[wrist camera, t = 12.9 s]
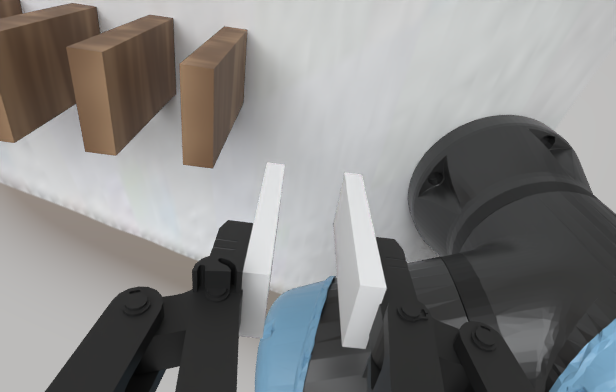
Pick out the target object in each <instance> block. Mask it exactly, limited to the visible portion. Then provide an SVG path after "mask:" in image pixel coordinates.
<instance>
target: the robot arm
mask: <svg viewBox="0 0 616 392" xmlns="http://www.w3.org/2000/svg"><path fill="white" fill-rule="evenodd" d="M284 169H285V164H277V163H270V162H267V165H266V169H265V174H264V178H263V183H262V187H261V192H260V196H259V201H258V205H257V210H256V214H255V219H254V223H247V222H239V221H230V220H228V221H227V222H226V223H225V224H223V225H222V226H221V227H220V228H219V231H218V234H217V237H216V240H215V243H214V245H213V248H212V251H211V254H210V256H208V257H205V258H203V259H201V260H200V261H199V262H197V263H196V264H195V266H194V268H193V270H192V281H193V289H192V290H190V291H188V292H185V293H182V294H178V295H174V296H166V297H162V296H161V294H159V292H158V291H157V290H155V289H152V288H149V287H135V288H130V289H127V290H125V291H124V292H121V293H120V294H118V296H117V297H115V298H114V299H113V300H112V301H111V303H110V304H109V306H108V307H107V308H106V310H105V311H104V312H103V314H102V315H101V316H100V318H99V319H98V321H97V322H96V323H95V325H94V326H93V327H92V329H91V330H90V331H89V333H88V334H87V336H86V337H85V338H84V339H83V341H82V342H81V344H80V345H79V346H78V348H77V349H76V351H75V352H74V353H73V354H72V356H71V357H70V359H69V360H68V361H67V363H66V364H65V365H64V367H63V368H62V369H61V371H60V372H59V373H58V375H57V376H56V377H55V379H54V380H53V382H52V383H51V384H50V386H49V387H48V388H47V390H46V391H45V392H155V391H156V389H157V387H158V385H159V383H160V381H161V379H162V377H163V375H164V373H165V370H166V369H169V368H173V367H178V366H180V368H179V374H178V380H177V385H176V391H175V392H236V390H237V387H236V386H237V364H238V339H239V336H242V337H252V338H260V343H259V347H258V355H257V362H256V373H255V392H616V214H615V213H614V212H613V211H612V210H610V209H609V208H608V207H607V206H606V205H604V204H603V203H602V202H601V201H600V200H599V199H598V198H596V197H595V196H594V195H593V193H592V191H591V188H590V186H589V183H588V181H587V178H586V176H585V174H584V171H583V169H582V166H581V164H580V161H579V159H578V157H577V155H576V153H575V151H574V150H573V148H572V147H571V146H570V145H569V143H568V142H567V141H566V140H565V139H564V138H562V137H561V136H560V135H559V134H557V133H556V132H555V131H553V130H552V129H551V128H549V127H548V126H546V125H545V124H543V123H541V122H539V121H537V120H534V119H531V118H527V117H523V116H516V115H499V116H491V117H486V118H482V119H478V120H475V121H472V122H469V123H467V124H465V125H462V126H460V127H458V128H457V129H455V130H453V131H451V132H450V133H448V134H447V135H445V136H444V137H443V138H441V139H440V140H439V141H438V142H436V143H435V144H434V145H433V146H432V147H431V148H430V149H429V150H428V151H427V153H426V154H425V155H424V156H423V158H422V159H421V161H420V162H419V164H418V165H417V167H416V169H415V171H414V173H413V176H412V178H411V182H410V185H409V192H408V204H409V209H410V213H411V215H412V218H413V221H414V223H415V226H416V228H417V230H418V232H419V234H420V235H421V237H422V238H423V239H424V241H425V242H426V243H427V244H428V245H429V246H430V247H431V248H432V249H433V250H434V251H436V252H437V253H438V254H439V255H440V256H441V257H436V258H431V259H426V260H422V261H417V262H412V263H407V262H406V259H405V255H404V252H403V249H402V248H401V246H400V245H399V244H398V243H397V242H396V241H395V239H387V238H379V237H375V232H374V228H373V223H372V218H371V214H370V209H369V205H368V200H367V195H366V191H365V186H364V181H363V177H362V175H361V174H354V173H346V172H344V177H343V181H342V186H341V191H340V195H339V200H338V204H337V209H336V213H335V218H334V223H333V227H334V241H335V255H336V269H337V278H336V276H330V277H328V278H327V279H326V280H325V281H321V282H317V283H313V284H309V285H306V286H302V287H298V288H294V289H291V290H288V291H286V292H285V293H283V294H282V295H280V296H279V297H278V298H277V299H276V301H275V302H274V303H273V305H272V306H271V308H270V310H269V312H268V314H267V317H266V319H265V316H266V308H267V300H268V293H269V286H270V278H271V271H272V263H273V255H274V248H275V240H276V233H277V225H278V218H279V210H280V201H281V193H282V185H283V177H284Z"/></svg>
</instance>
